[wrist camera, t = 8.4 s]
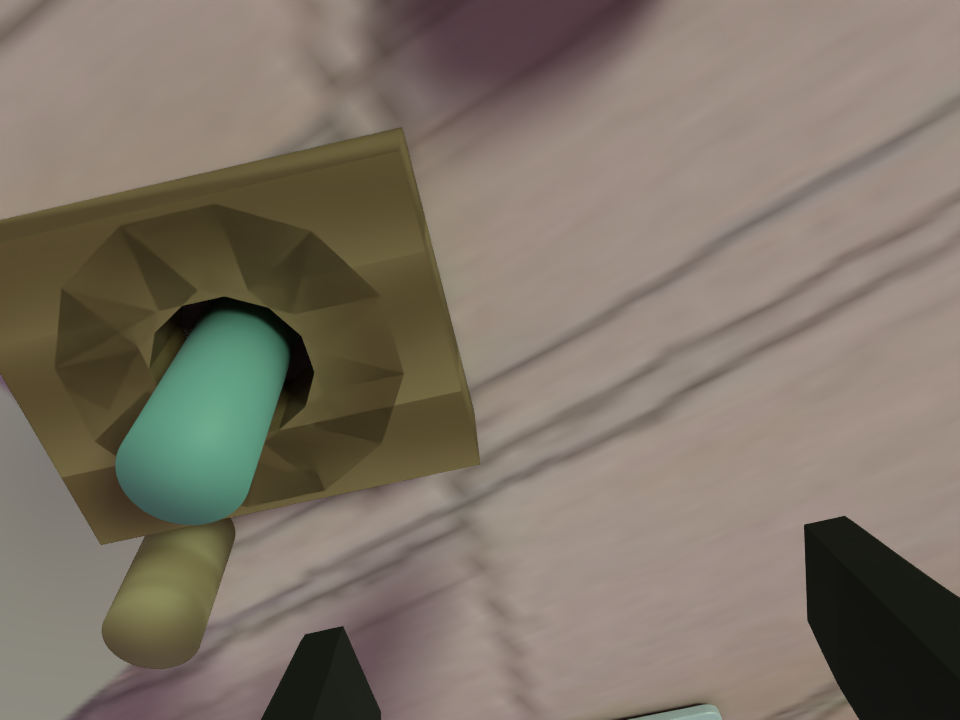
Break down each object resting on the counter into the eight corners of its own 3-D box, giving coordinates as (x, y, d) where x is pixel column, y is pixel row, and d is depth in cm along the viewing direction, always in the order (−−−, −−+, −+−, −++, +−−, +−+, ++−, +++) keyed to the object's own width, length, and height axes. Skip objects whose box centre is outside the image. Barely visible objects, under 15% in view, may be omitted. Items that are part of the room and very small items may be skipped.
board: (473, 412, 21) (480, 464, 19) (133, 486, 22) (101, 545, 20) (402, 127, 18) (398, 151, 15) (-8, 221, 18) (-68, 258, 16)
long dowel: (313, 352, 20) (270, 508, 14) (227, 374, 20) (151, 537, 15) (280, 270, 19) (219, 404, 13) (189, 294, 19) (91, 437, 14)
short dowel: (246, 552, 23) (215, 658, 20) (171, 568, 23) (126, 676, 20) (218, 491, 22) (178, 591, 19) (138, 508, 22) (84, 611, 19)
